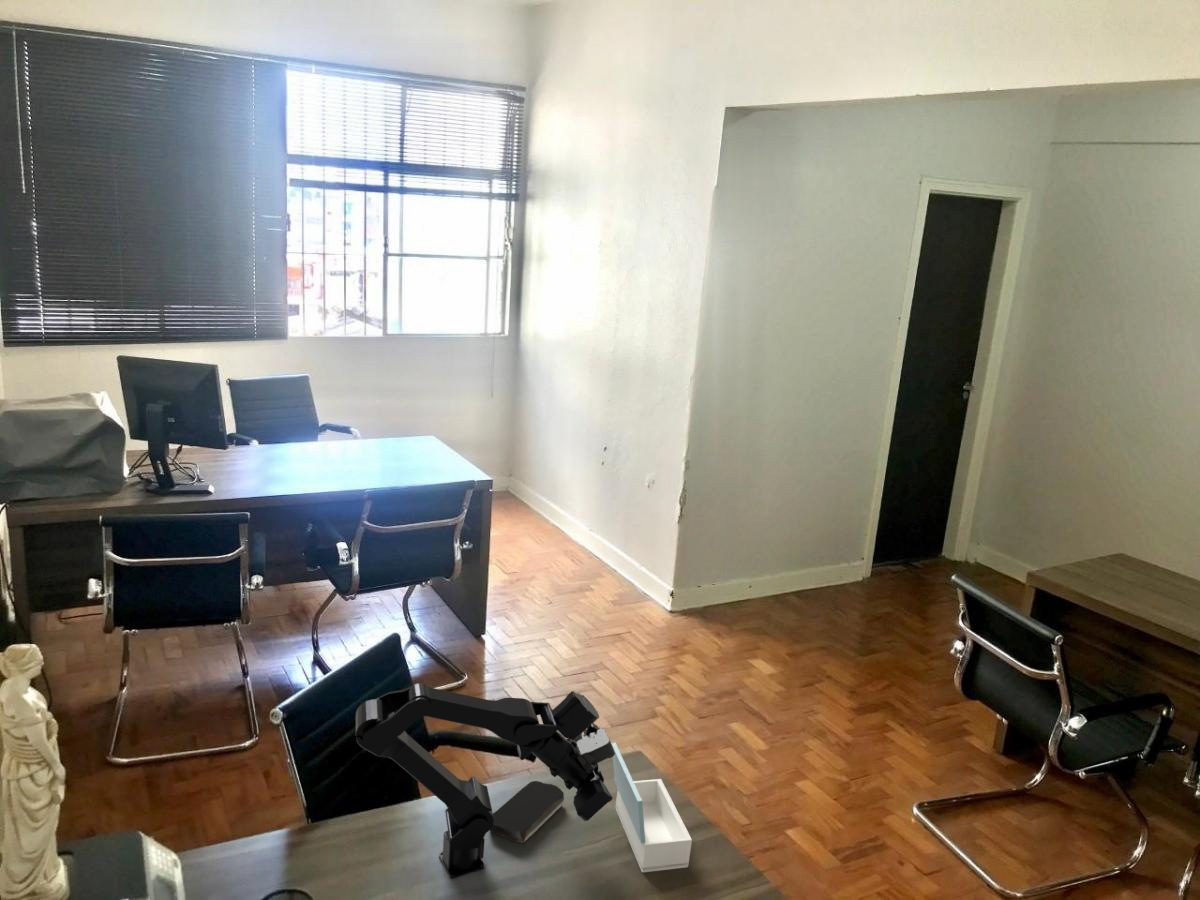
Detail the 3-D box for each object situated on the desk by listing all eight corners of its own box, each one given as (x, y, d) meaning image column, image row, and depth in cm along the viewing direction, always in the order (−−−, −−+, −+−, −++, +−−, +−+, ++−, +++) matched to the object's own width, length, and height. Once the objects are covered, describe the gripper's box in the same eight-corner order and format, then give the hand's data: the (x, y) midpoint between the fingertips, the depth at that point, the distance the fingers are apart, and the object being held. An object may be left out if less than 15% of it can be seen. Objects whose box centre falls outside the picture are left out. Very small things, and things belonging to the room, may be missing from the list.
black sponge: (519, 852, 166) (520, 835, 165) (483, 833, 170) (484, 816, 169) (567, 806, 179) (568, 790, 178) (532, 789, 183) (533, 774, 182)
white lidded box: (642, 872, 163) (645, 844, 161) (615, 808, 180) (618, 782, 178) (688, 867, 165) (691, 839, 164) (657, 804, 182) (660, 778, 180)
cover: (645, 842, 161) (641, 843, 161) (618, 781, 178) (614, 782, 178) (642, 800, 158) (637, 801, 158) (615, 742, 175) (611, 743, 175)
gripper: (603, 753, 151) (658, 802, 157) (578, 694, 168) (628, 741, 174) (554, 797, 151) (611, 845, 157) (534, 734, 168) (586, 779, 174)
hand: (610, 799), depth 166 cm, fingers closed
